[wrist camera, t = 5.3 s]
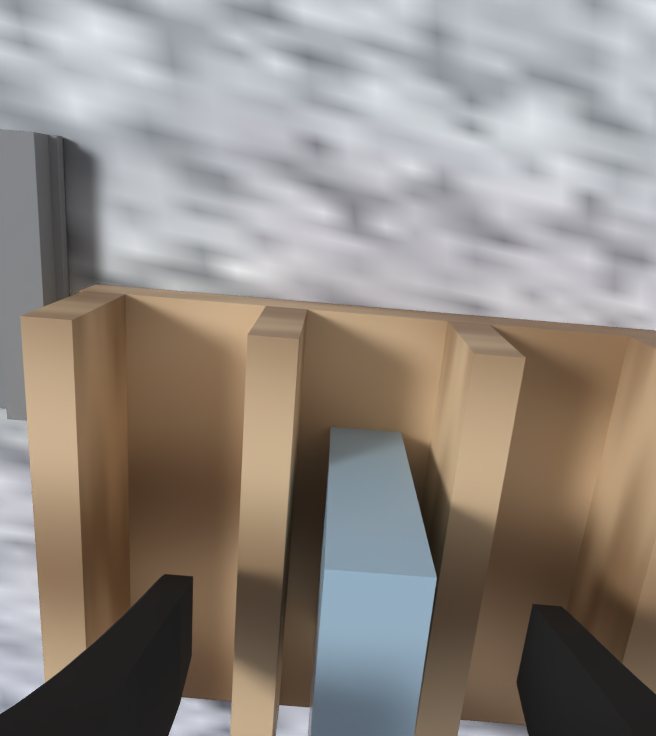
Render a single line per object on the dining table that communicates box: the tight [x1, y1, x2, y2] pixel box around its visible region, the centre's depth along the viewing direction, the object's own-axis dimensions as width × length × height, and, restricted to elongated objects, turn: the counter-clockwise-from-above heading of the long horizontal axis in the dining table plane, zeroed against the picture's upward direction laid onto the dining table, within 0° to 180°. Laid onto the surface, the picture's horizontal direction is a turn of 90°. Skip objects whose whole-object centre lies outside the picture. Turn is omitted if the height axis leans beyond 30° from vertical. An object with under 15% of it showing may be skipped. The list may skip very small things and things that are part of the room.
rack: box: [20, 284, 656, 736], centre depth 15 cm, size 12×14×4 cm
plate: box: [308, 427, 437, 736], centre depth 13 cm, size 6×2×6 cm, turn 176°
